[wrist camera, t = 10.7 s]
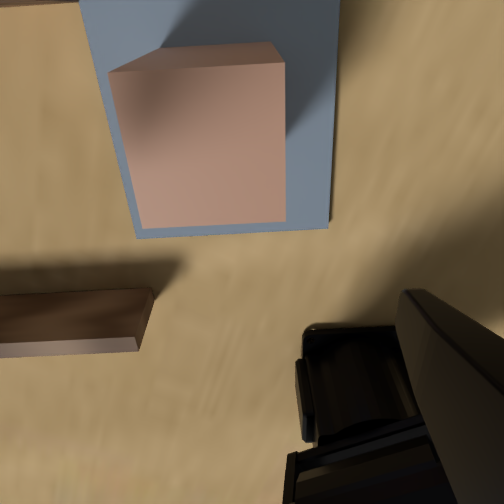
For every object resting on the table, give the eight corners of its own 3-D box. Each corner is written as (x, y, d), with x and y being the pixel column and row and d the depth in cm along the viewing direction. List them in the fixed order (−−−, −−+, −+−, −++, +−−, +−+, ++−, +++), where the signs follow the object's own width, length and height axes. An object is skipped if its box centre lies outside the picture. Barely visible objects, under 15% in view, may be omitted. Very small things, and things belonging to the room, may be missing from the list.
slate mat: (343, -102, 14) (345, -104, 14) (326, 225, 21) (328, 228, 20) (62, -81, 14) (58, -84, 14) (138, 235, 21) (136, 239, 21)
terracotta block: (270, 41, 16) (285, 62, 10) (273, 151, 18) (285, 221, 12) (159, 47, 16) (107, 72, 10) (176, 156, 18) (142, 228, 12)
